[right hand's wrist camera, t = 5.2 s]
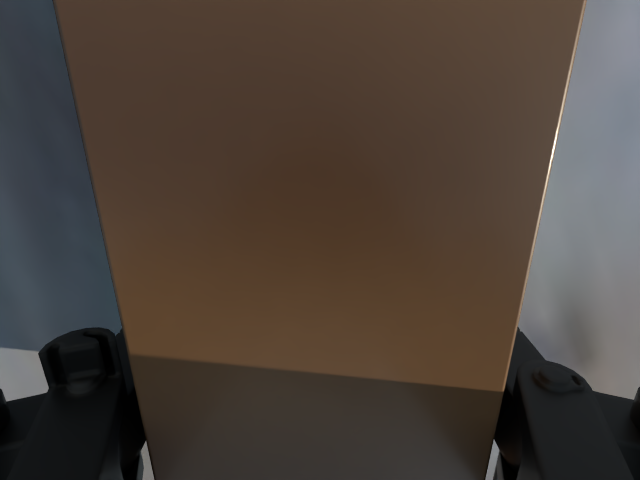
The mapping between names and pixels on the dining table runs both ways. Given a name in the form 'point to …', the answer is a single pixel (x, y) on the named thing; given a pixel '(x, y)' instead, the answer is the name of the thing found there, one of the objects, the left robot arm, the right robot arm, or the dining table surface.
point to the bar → (319, 221)
